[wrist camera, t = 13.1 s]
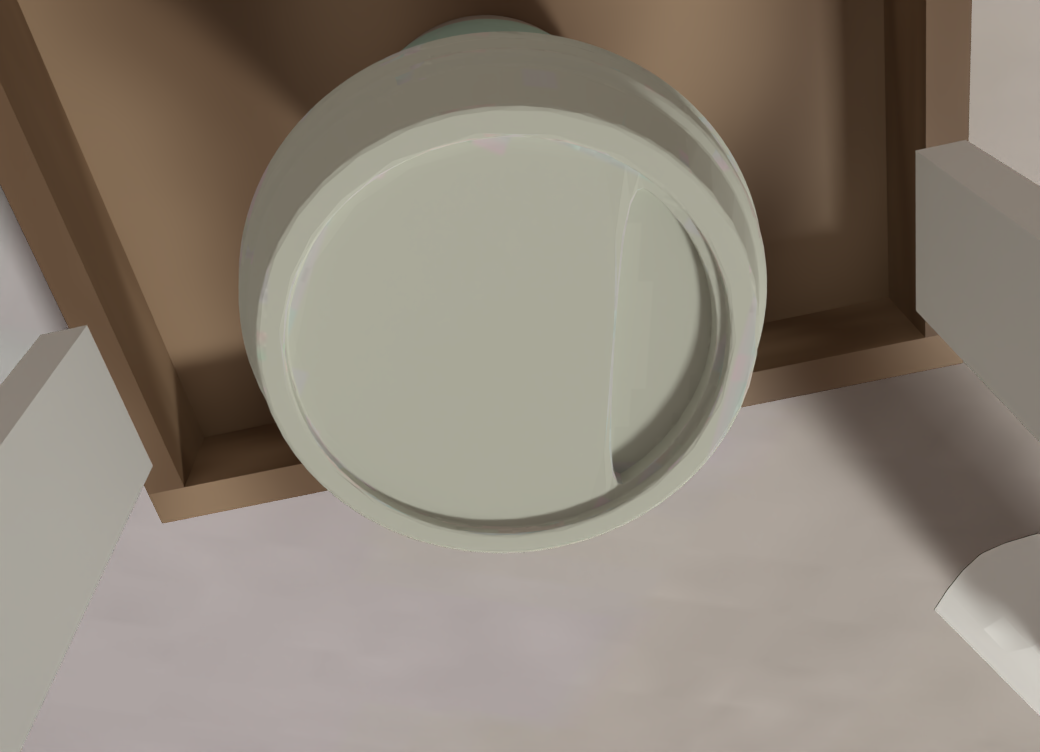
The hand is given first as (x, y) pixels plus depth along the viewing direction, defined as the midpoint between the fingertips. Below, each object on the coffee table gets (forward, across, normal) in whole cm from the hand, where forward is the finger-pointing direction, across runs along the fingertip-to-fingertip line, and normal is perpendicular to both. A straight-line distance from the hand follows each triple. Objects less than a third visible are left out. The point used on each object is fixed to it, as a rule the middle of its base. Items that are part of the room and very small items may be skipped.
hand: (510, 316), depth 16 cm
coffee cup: (+11, 0, 0) cm, 11 cm away
